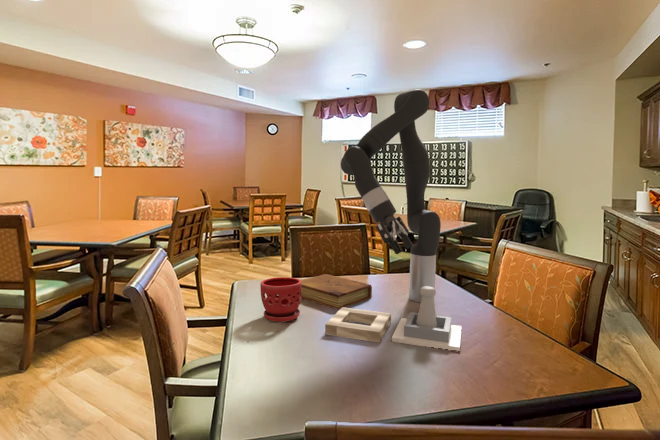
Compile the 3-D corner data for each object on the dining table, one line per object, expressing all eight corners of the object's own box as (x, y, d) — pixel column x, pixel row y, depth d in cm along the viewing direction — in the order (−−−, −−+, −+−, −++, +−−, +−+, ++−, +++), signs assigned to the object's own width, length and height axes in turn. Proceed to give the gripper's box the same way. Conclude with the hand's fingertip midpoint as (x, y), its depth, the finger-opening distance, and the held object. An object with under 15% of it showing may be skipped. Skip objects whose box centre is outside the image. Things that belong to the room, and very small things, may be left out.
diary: (371, 299, 152) (372, 284, 151) (338, 311, 138) (338, 295, 138) (327, 286, 167) (327, 273, 167) (293, 296, 154) (293, 281, 153)
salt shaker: (436, 336, 114) (438, 290, 112) (416, 334, 115) (417, 289, 113) (436, 328, 119) (437, 285, 118) (416, 326, 120) (417, 283, 119)
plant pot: (308, 314, 133) (309, 278, 132) (288, 327, 122) (288, 288, 120) (275, 308, 139) (275, 273, 138) (252, 320, 127) (251, 283, 126)
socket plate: (401, 321, 127) (401, 308, 127) (461, 329, 121) (462, 316, 121) (391, 341, 112) (392, 326, 112) (459, 351, 106) (460, 336, 106)
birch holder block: (342, 316, 132) (342, 307, 131) (390, 322, 126) (391, 313, 126) (325, 334, 117) (325, 324, 116) (379, 342, 111) (379, 332, 111)
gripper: (377, 201, 119) (406, 249, 116) (397, 196, 131) (423, 240, 128) (359, 213, 123) (385, 260, 120) (379, 208, 135) (404, 251, 132)
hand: (405, 250), depth 124 cm, fingers open, 8 cm apart
